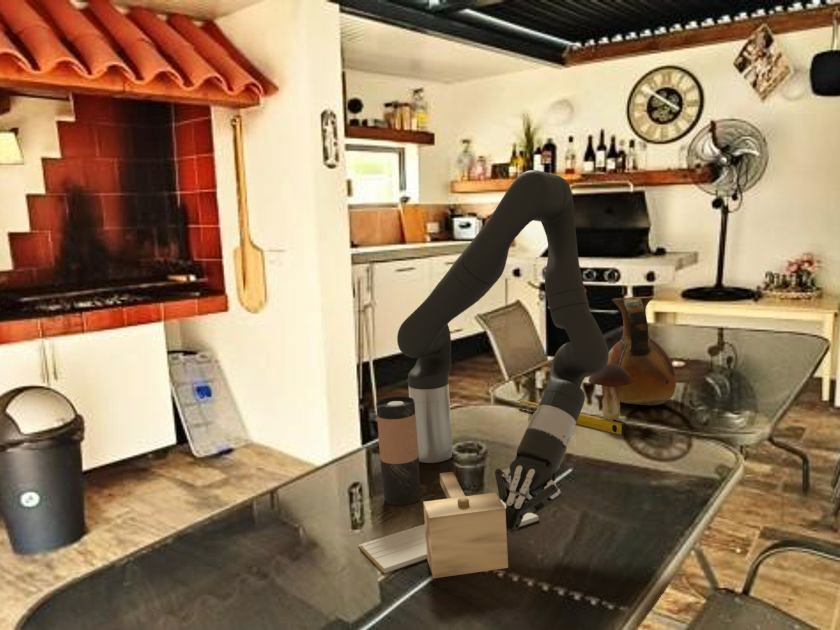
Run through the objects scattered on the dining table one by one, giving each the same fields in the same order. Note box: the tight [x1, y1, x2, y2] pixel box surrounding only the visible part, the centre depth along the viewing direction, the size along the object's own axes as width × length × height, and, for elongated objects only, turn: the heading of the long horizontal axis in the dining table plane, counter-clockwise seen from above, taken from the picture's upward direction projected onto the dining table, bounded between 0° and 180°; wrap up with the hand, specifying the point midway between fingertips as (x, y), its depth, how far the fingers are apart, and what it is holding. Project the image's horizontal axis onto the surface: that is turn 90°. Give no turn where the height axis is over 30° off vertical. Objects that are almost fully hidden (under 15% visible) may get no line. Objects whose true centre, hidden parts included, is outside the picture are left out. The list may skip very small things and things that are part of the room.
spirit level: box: [517, 398, 626, 436], centre depth 175 cm, size 33×1×3 cm, turn 40°
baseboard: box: [357, 499, 539, 574], centre depth 119 cm, size 31×3×12 cm
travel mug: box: [375, 395, 421, 507], centre depth 133 cm, size 8×8×20 cm
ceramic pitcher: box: [601, 296, 677, 406], centre depth 184 cm, size 20×20×30 cm
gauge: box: [422, 471, 509, 579], centre depth 113 cm, size 18×12×11 cm, turn 9°
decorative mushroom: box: [588, 364, 633, 421], centre depth 171 cm, size 11×11×15 cm
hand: (506, 531), depth 109 cm, fingers closed
